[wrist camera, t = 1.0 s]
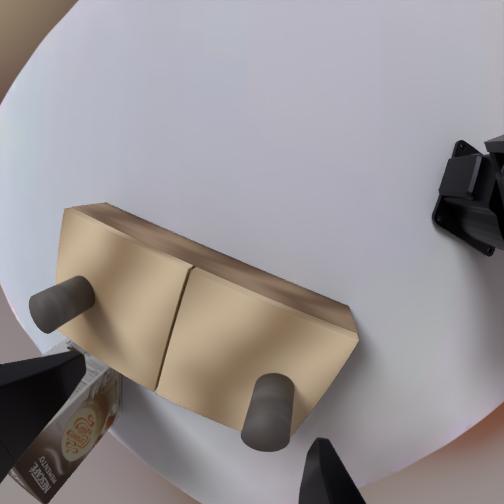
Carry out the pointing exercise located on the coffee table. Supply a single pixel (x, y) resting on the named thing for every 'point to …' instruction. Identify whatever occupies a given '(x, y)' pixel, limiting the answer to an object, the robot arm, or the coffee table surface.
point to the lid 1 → (113, 297)
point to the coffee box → (71, 428)
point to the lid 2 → (250, 360)
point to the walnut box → (223, 265)
